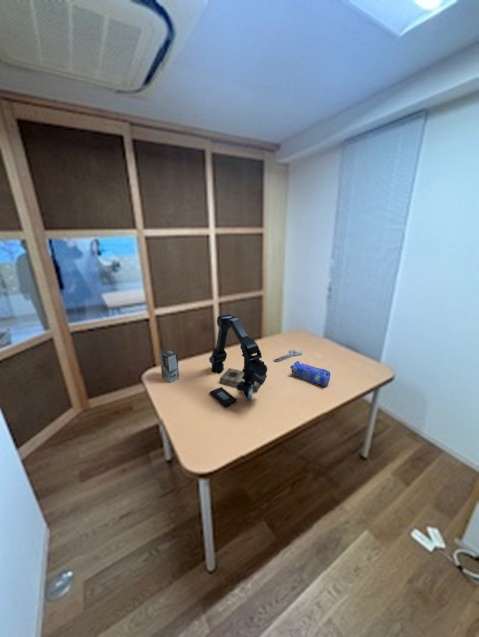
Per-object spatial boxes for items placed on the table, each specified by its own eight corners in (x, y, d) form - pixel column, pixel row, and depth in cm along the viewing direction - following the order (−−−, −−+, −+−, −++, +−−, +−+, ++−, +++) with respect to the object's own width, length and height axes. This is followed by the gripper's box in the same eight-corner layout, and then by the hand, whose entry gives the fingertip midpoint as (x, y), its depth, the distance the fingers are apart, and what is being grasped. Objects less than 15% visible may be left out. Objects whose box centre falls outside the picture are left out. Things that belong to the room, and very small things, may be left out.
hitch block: (220, 383, 146) (220, 377, 145) (229, 373, 157) (229, 368, 155) (256, 392, 138) (257, 386, 137) (263, 381, 149) (264, 375, 147)
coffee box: (179, 378, 150) (177, 353, 145) (170, 383, 145) (167, 357, 140) (170, 373, 156) (168, 348, 151) (161, 377, 151) (159, 352, 146)
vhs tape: (221, 389, 141) (221, 386, 140) (237, 403, 130) (237, 399, 129) (209, 394, 136) (209, 391, 136) (224, 408, 126) (224, 405, 125)
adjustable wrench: (268, 358, 177) (268, 355, 176) (296, 350, 190) (296, 347, 189) (275, 363, 170) (275, 360, 170) (304, 354, 183) (304, 352, 182)
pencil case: (289, 376, 154) (290, 362, 151) (295, 370, 161) (296, 356, 158) (325, 389, 141) (327, 374, 138) (330, 383, 148) (332, 368, 145)
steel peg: (244, 399, 132) (244, 386, 129) (246, 395, 135) (247, 382, 132) (250, 401, 130) (251, 387, 128) (253, 397, 134) (253, 384, 131)
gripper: (259, 379, 116) (257, 408, 121) (270, 361, 132) (269, 388, 137) (236, 374, 120) (236, 402, 125) (250, 357, 136) (249, 383, 141)
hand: (248, 393), depth 132 cm, fingers open, 6 cm apart
